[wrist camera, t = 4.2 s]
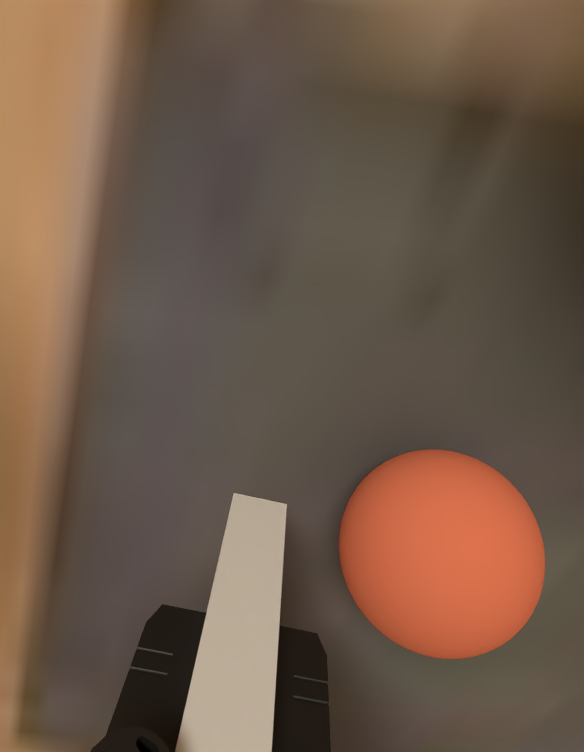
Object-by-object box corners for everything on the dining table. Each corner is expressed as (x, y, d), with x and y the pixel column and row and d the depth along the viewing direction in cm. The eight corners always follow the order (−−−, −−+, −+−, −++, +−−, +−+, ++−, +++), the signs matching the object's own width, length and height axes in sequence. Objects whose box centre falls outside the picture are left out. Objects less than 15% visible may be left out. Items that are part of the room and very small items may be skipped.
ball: (315, 536, 17) (325, 691, 12) (356, 400, 15) (387, 522, 10) (464, 561, 18) (530, 721, 13) (524, 432, 16) (633, 564, 11)
